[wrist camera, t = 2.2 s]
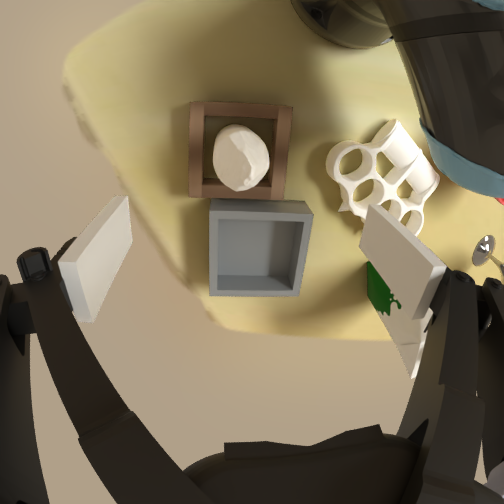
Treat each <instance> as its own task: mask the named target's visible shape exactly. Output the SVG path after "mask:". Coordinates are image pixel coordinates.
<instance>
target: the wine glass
mask: <svg viewBox="0 0 504 504" xmlns="http://www.w3.org/2000/svg"><path fill="white" fill-rule="evenodd" d="M494 249H495V238H494V237H493V236H492V235H488V236H485V237H484V238H483V239H481V241H480V242H479V243H478V244H477V246H476V248H475V250H474V253H473V263H474V265H475V266H482V265H484V264H485V263H486V262H487V261H488V260H489V259H491V260H492V261H493V262H494V263H495V264H496V265H497V267H498V268H499V270H500V273H501V283H502V284H503V285H504V263H502V262H500V261H499V260H497V259H496V258H495V257H493V256H492V254H493V252H494Z"/></svg>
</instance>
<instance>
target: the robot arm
mask: <svg viewBox="0 0 504 504" xmlns="http://www.w3.org/2000/svg"><path fill="white" fill-rule="evenodd" d="M291 2H292V4H293V7H294V9H295V10H296V12H297V14H298V15H299V16H300V18H301V19H302V20H303V21H304V22H305V24H306V25H307V26H308V27H310V28H311V29H312V30H313V31H314V32H316V33H317V34H318V35H320V36H321V37H323V38H325V39H327V40H329V41H331V42H333V43H335V44H338V45H341V46H345V47H349V48H358V49H363V48H371V47H376V46H380V45H383V44H386V43H388V42H390V41H392V40H393V39H394V41H395V44H396V46H397V49H398V51H399V54H400V56H401V59H402V62H403V64H404V67H405V70H406V73H407V75H408V78H409V81H410V84H411V87H412V90H413V94H414V97H415V100H416V103H417V107H418V110H419V114H420V118H419V121H420V125H421V128H422V130H423V131H424V133H425V136H426V139H427V143H428V146H429V150H430V153H431V157H432V159H433V161H434V163H435V165H436V166H437V168H438V169H439V170H440V171H441V172H442V173H443V174H444V175H446V176H448V177H449V179H450V180H451V181H453V182H454V183H456V184H458V185H459V186H461V187H463V188H465V189H467V190H470V191H472V192H475V193H478V194H482V195H485V196H490V197H495V198H503V199H504V0H291ZM132 243H133V240H132V232H131V224H130V213H129V203H128V195H127V196H114V197H113V198H112V199H111V200H110V201H109V202H108V204H106V206H105V207H104V208H103V209H102V210H101V211H100V212H99V213H98V214H97V215H96V217H95V218H94V219H93V220H92V221H91V222H90V223H89V224H88V226H87V227H86V228H85V229H84V230H83V231H82V233H81V234H80V235H79V236H78V237H73V238H72V239H70V240H69V241H67V242H66V243H65V244H64V245H63V247H62V248H61V250H59V251H58V252H57V255H55V256H54V257H53V258H52V260H51V261H50V258H49V254H48V250H46V248H43V247H37V248H32V249H29V250H27V251H25V252H23V253H22V254H21V255H20V256H19V257H18V259H17V265H18V268H19V271H20V274H21V277H22V280H23V283H18V284H12V285H10V282H9V279H8V277H7V276H6V275H2V274H1V275H0V504H49V499H48V495H47V490H46V486H45V482H44V478H43V474H42V469H41V465H40V459H39V454H38V448H37V442H36V436H35V429H34V421H33V413H32V400H31V386H30V334H33V333H37V336H38V340H39V343H40V346H41V349H42V351H43V354H44V357H45V360H46V363H47V366H48V368H49V371H50V373H51V376H52V378H53V381H54V384H55V386H56V388H57V391H58V393H59V395H60V398H61V400H62V402H63V404H64V406H65V408H66V411H67V413H68V415H69V417H70V419H71V421H72V423H73V425H74V427H75V429H76V431H77V433H78V435H79V438H78V441H79V444H80V446H81V447H82V449H83V451H84V453H85V455H86V457H87V458H88V460H89V462H90V463H91V465H92V467H93V468H94V470H95V472H96V473H97V475H98V476H99V478H100V479H101V481H102V482H103V484H104V486H105V487H106V488H107V490H108V491H109V493H110V494H111V496H112V497H113V498H114V500H115V501H116V503H117V504H504V285H503V284H502V283H501V281H499V280H498V279H494V278H490V277H488V278H486V280H485V282H484V284H483V286H479V285H475V281H474V280H473V278H472V277H470V276H469V275H468V274H466V273H464V272H462V271H457V270H454V271H451V270H450V269H449V268H448V267H447V266H446V265H445V264H444V263H443V262H442V261H441V260H440V259H439V258H438V257H437V256H436V255H435V254H434V253H433V252H432V251H431V250H430V249H429V248H428V247H427V246H426V245H424V244H423V243H422V242H421V241H420V240H419V239H418V238H417V237H416V236H415V235H414V234H413V233H412V232H410V231H409V230H408V229H407V228H406V227H405V226H404V225H403V224H402V223H400V222H399V221H398V220H397V219H396V218H395V217H394V216H393V215H391V214H390V213H389V212H388V211H387V210H386V209H384V208H383V207H382V206H381V205H376V204H369V205H368V210H367V214H366V219H365V223H364V227H363V231H362V236H361V240H360V244H359V248H360V249H361V250H362V252H363V253H364V254H365V255H366V257H367V258H368V259H369V261H370V262H371V263H372V265H373V266H374V268H375V269H376V270H377V272H378V273H379V274H380V276H381V277H382V278H383V280H384V281H385V283H386V284H387V285H388V287H389V288H390V290H391V291H392V293H393V294H394V295H395V297H396V298H397V300H398V301H399V303H400V304H401V305H402V307H403V308H404V310H405V311H406V313H407V314H408V316H409V317H410V319H411V320H415V319H423V318H424V317H425V315H426V313H427V311H428V309H429V307H430V309H431V310H432V311H433V314H432V316H431V318H430V320H429V322H428V324H427V326H426V328H425V330H424V333H426V331H427V330H428V331H427V336H426V340H425V344H424V349H423V353H422V357H421V361H420V365H419V368H418V372H417V376H416V379H415V382H414V386H413V389H412V393H411V396H410V399H409V402H408V405H407V408H406V411H405V414H404V416H403V419H402V422H401V425H400V427H399V430H398V432H397V434H396V435H391V434H383V433H382V430H381V428H380V425H379V424H377V425H373V426H369V427H364V428H360V429H355V430H349V431H345V432H343V433H341V434H339V435H336V436H334V437H332V438H330V439H327V440H324V441H322V442H320V443H317V444H315V445H312V446H300V445H290V444H282V443H274V442H268V441H263V442H262V441H261V442H234V443H224V452H222V453H218V454H214V455H211V456H208V457H205V458H203V459H201V460H199V461H197V462H195V463H193V464H192V465H190V466H189V467H187V468H186V469H185V470H183V471H182V470H181V469H180V468H179V467H178V465H177V464H176V463H175V462H174V461H173V460H172V459H171V458H170V457H169V455H168V454H167V453H166V452H165V451H164V449H163V448H162V447H161V446H160V445H159V444H158V442H157V441H156V440H155V438H154V437H153V436H152V435H151V434H150V433H149V431H148V430H147V429H146V427H145V426H144V424H143V423H142V422H141V421H140V419H139V418H138V417H137V415H136V414H135V413H134V412H133V411H130V409H128V407H127V405H126V404H125V403H124V401H123V400H122V398H121V397H120V395H119V394H118V392H117V391H116V389H115V388H114V386H113V385H112V383H111V381H110V380H109V378H108V377H107V375H106V374H105V372H104V370H103V369H102V367H101V365H100V364H99V362H98V360H97V359H96V357H95V355H94V353H93V352H92V350H91V348H90V346H89V344H88V343H87V341H86V339H85V337H84V335H83V333H82V331H81V330H80V328H79V326H78V324H77V322H76V320H77V321H78V322H86V323H94V320H95V319H96V316H97V314H98V312H99V309H100V307H101V305H102V303H103V301H104V299H105V297H106V294H107V292H108V290H109V288H110V286H111V284H112V282H113V280H114V278H115V276H116V274H117V272H118V270H119V268H120V266H121V264H122V262H123V260H124V258H125V256H126V254H127V252H128V250H129V248H130V247H131V245H132ZM72 311H73V312H74V315H75V318H76V320H75V318H74V316H73V314H72ZM490 322H491V323H490ZM489 324H490V325H489ZM488 325H489V327H488ZM476 391H477V396H478V397H477V396H476ZM481 441H482V446H483V460H484V466H485V474H486V478H487V483H485V484H484V485H482V484H480V483H479V482H477V481H475V480H474V477H475V473H476V468H477V463H478V458H479V453H480V447H481Z"/></svg>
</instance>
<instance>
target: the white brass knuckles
mask: <svg viewBox="0 0 504 504" xmlns="http://www.w3.org/2000/svg"><path fill="white" fill-rule="evenodd" d="M357 148H359V149H360V150H361V152H362V156H363V159H362V163H361V165H360V167H359V168H358V169H356V170H355V171H353V172H352V173H350V174H346V175H343V174H341V173H340V171H339V163H340V160H341V159H342V157H343V156H344V155H345V154H347V153H348V152H350V151H352V150H353V149H357ZM381 151H382V152H383V153H384V154H385V156H386V157H387V158H388V159H389V160H390V161H391V162H392V164H393V165H394V167H393V168H392V169H391V170H390V171H389V173H388V174H387V175H386V176H385V177H384V178H382V177H381V176H380V175H379V174H378V173H377V172H376V155H377V153H378V152H381ZM326 171H327V174H328V175H329V176H330V177H331V178H332V179H333V180H334V181H336V182H338V184H339V187H340V191H341V195H340V196H341V198H342V199H343V202H342V204H341V206H340V208H339V210H338V212H341V211H348V210H350V211H351V212H352V213H353V214H354V215H357V216H360V218H361V221H362V222H363V223H365V219H366V214H367V210H368V205H369V204H376V205H381V204H382V203H383V202H384V201H386V200H391V206H390V209H389V210H388V212H389V213H390V214H391V215H393V216H394V217H395V218H396V219H397V220H398V221H399V222H400V221H401V219H402V217H403V216H404V214H405V213H407V212H408V211H410V210H411V216H410V218H409V220H408V222H407V224H406V225H405V227H406V228H407V229H408V230H409V231H410V232H412V233H413V234H414V235H415V236H417V235H418V234H419V232H420V231H421V229H422V226H423V223H424V215H423V211H422V209H423V206H424V202H425V201H426V199H427V198H428V197H429V196H430V195H431V194H432V192H433V191H434V190H435V189H436V188H437V186H438V184H439V181H440V176H439V174H437V173H436V172H435V170H434V169H433V167H432V166H431V164H430V163H429V162H428V160H427V159H426V157H425V156H424V155H423V153H422V150H421V149H420V148H418V146H417V145H416V144H415V142H414V141H413V140H412V139H411V137H410V136H409V135H408V133H407V132H406V131H405V130H404V128H403V127H402V126H401V123H400V122H399V121H397V120H396V119H392V120H390V121H388V122H387V123H386V124H384V126H383V127H382V128H381V129H380V130H379V131H378V132H377V133H376V135H375V137H374V138H373V140H372V141H371V142H370V143H365V144H361V143H359V142H356V141H353V140H346V141H342V142H339V143H338V144H336V145H335V146H334V147H333V148H332V149H331V150H330V152H329V153H328V155H327V159H326ZM368 179H373V181H374V188H373V191H372V193H371V194H370V195H369V196H368V197H366V198H364V199H363V200H361V201H357V202H355V201H353V192H354V190H355V188H356V187H357V186H358V185H359V184H361V183H362V182H364V181H366V180H368ZM405 179H406V181H407V182H408V183H409V184H410V186H411V187H412V188H413V190H412V192H411V196H410V197H409V198H402V199H400V198H399V197H398V195H397V194H396V190H397V188H398V186H399V185H400V184H401V183H402V182H403V181H404V180H405Z"/></svg>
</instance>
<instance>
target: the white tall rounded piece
mask: <svg viewBox="0 0 504 504" xmlns="http://www.w3.org/2000/svg"><path fill="white" fill-rule="evenodd" d="M213 165H214V169H215V172H216V174H217V176H218V178H219V179H220V180H221V182H223V183H224V184H225V185H226V186H227V187H229V188H231V189H232V190H234V191H244V190H248V189H250V188H252V187H254V186H255V185H257V184H258V182H259V181H260V180H261V179H262V178H263V176H264V175H265V174H266V172H267V170H268V168H269V154H268V151H267V148H266V145H265V144H264V142H263V141H262V140H261V138H260V137H259V136H257V135H256V134H255V133H254V132H253V131H252V130H251V129H249V128H248V127H246V126H243V125H239V124H232V125H229V126H226V127H224V128H223V129H222V130H220V132H219V133H218V134H217V136H216V139H215V143H214V151H213Z"/></svg>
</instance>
